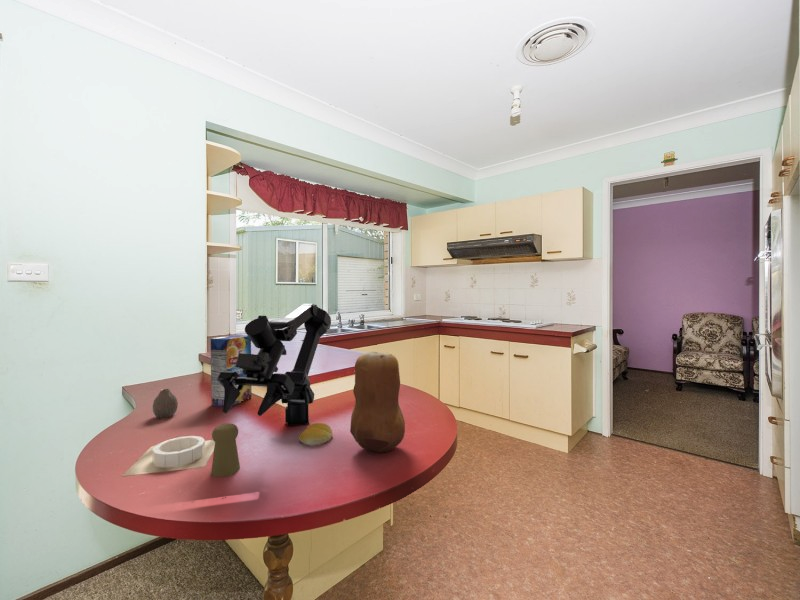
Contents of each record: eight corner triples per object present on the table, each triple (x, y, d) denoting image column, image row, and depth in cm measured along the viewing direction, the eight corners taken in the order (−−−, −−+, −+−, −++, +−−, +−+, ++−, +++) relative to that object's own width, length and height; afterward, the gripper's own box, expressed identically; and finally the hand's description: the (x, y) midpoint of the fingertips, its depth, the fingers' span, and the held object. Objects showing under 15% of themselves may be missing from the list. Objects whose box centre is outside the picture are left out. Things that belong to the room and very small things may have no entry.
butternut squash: (400, 437, 101) (399, 347, 100) (409, 458, 88) (409, 355, 87) (349, 440, 99) (348, 348, 98) (351, 463, 85) (350, 357, 85)
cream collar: (209, 445, 93) (208, 434, 93) (197, 464, 83) (197, 451, 83) (163, 450, 91) (162, 438, 91) (145, 470, 81) (145, 456, 80)
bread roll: (295, 445, 96) (294, 430, 96) (309, 432, 105) (309, 419, 105) (324, 447, 95) (324, 432, 95) (336, 434, 104) (336, 420, 103)
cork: (228, 483, 77) (228, 431, 77) (203, 480, 78) (203, 429, 78) (246, 469, 83) (245, 421, 82) (223, 467, 84) (222, 419, 84)
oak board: (220, 443, 97) (220, 439, 97) (204, 471, 82) (204, 466, 82) (151, 449, 93) (151, 446, 93) (121, 480, 78) (121, 476, 78)
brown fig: (147, 418, 117) (147, 391, 117) (168, 412, 123) (168, 386, 123) (162, 421, 114) (161, 393, 114) (182, 414, 121) (182, 388, 121)
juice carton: (236, 396, 142) (235, 334, 141) (251, 398, 139) (251, 335, 139) (211, 405, 131) (210, 338, 130) (227, 407, 128) (226, 339, 128)
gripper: (221, 339, 93) (188, 394, 82) (288, 341, 89) (262, 398, 78) (241, 364, 100) (213, 417, 90) (303, 367, 96) (282, 422, 86)
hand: (241, 414), depth 86 cm, fingers open, 9 cm apart
